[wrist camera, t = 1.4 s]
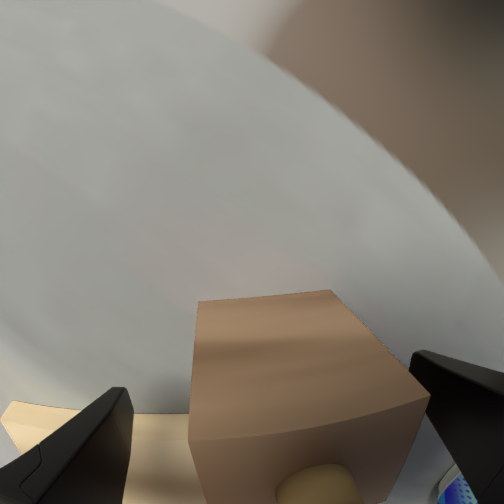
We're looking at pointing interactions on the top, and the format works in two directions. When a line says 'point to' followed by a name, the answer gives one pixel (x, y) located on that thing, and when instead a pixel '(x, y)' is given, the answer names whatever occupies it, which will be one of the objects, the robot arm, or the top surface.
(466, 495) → the beer can
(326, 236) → the top surface
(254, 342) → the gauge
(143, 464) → the board
